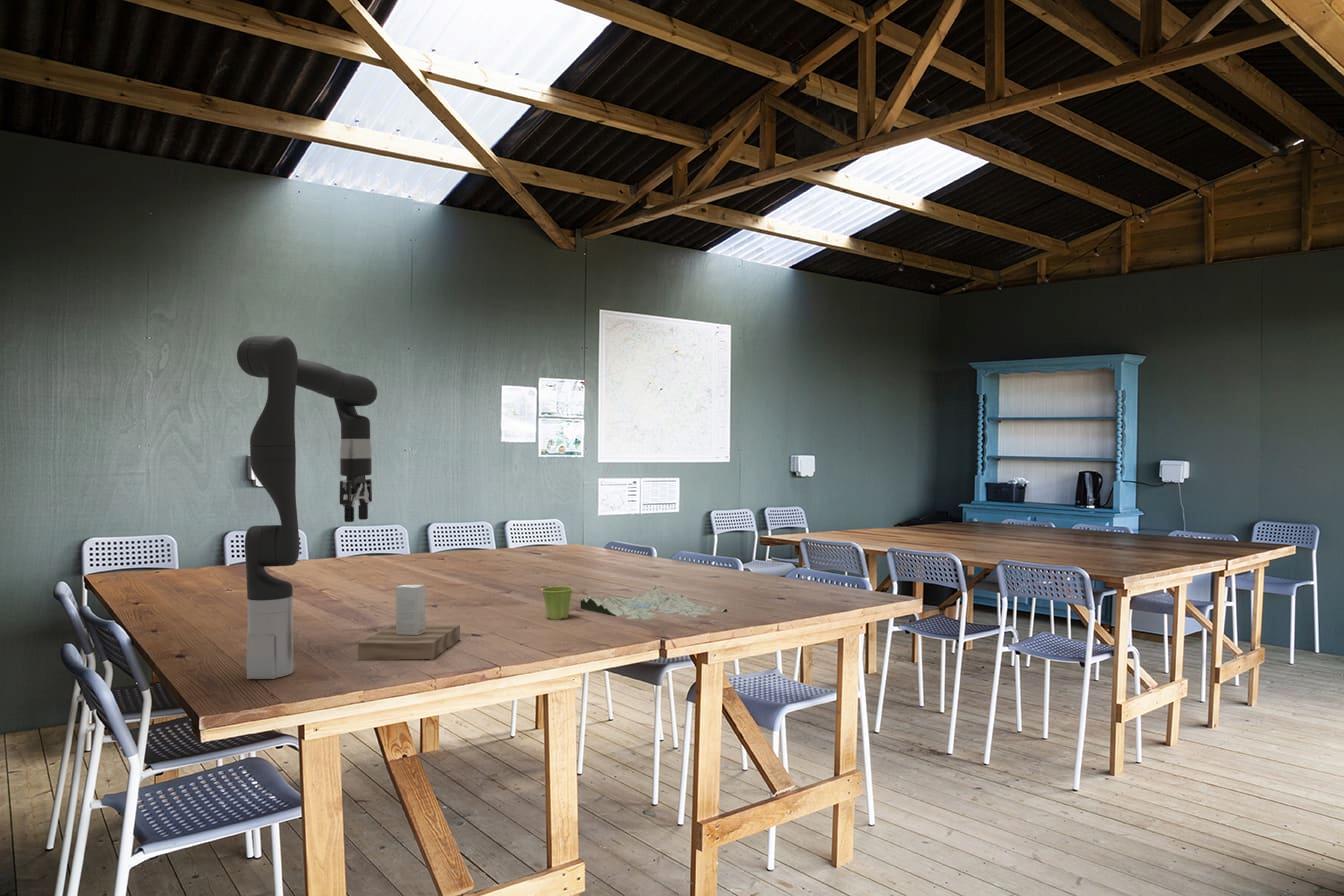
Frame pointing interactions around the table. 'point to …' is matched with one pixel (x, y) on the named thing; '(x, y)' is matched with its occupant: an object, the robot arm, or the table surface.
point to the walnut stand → (408, 643)
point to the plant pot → (557, 601)
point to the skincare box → (410, 610)
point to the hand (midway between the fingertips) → (356, 520)
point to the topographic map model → (645, 605)
